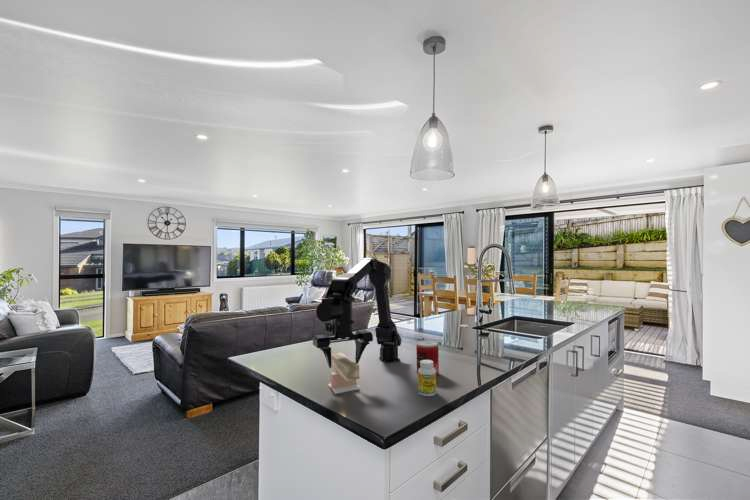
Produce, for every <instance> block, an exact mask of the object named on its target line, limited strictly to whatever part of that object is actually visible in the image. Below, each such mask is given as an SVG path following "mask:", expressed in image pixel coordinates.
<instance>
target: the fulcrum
mask: <svg viewBox="0 0 750 500" xmlns="http://www.w3.org/2000/svg"><path fill="white" fill-rule="evenodd" d="M327 386H328V387H329V389H330V390H331V391H332V392H333V393H334V394H335V395H337V394H342V393H347V392H353V391H356V390H360V388H361V387H360V386H359V384H357V379H355V380H349V381H346V380H345V379H344V378H343V377H342V376H341V375H340V374H339V373H337V372H336V371H333V372H330V383H328V385H327Z"/></svg>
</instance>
